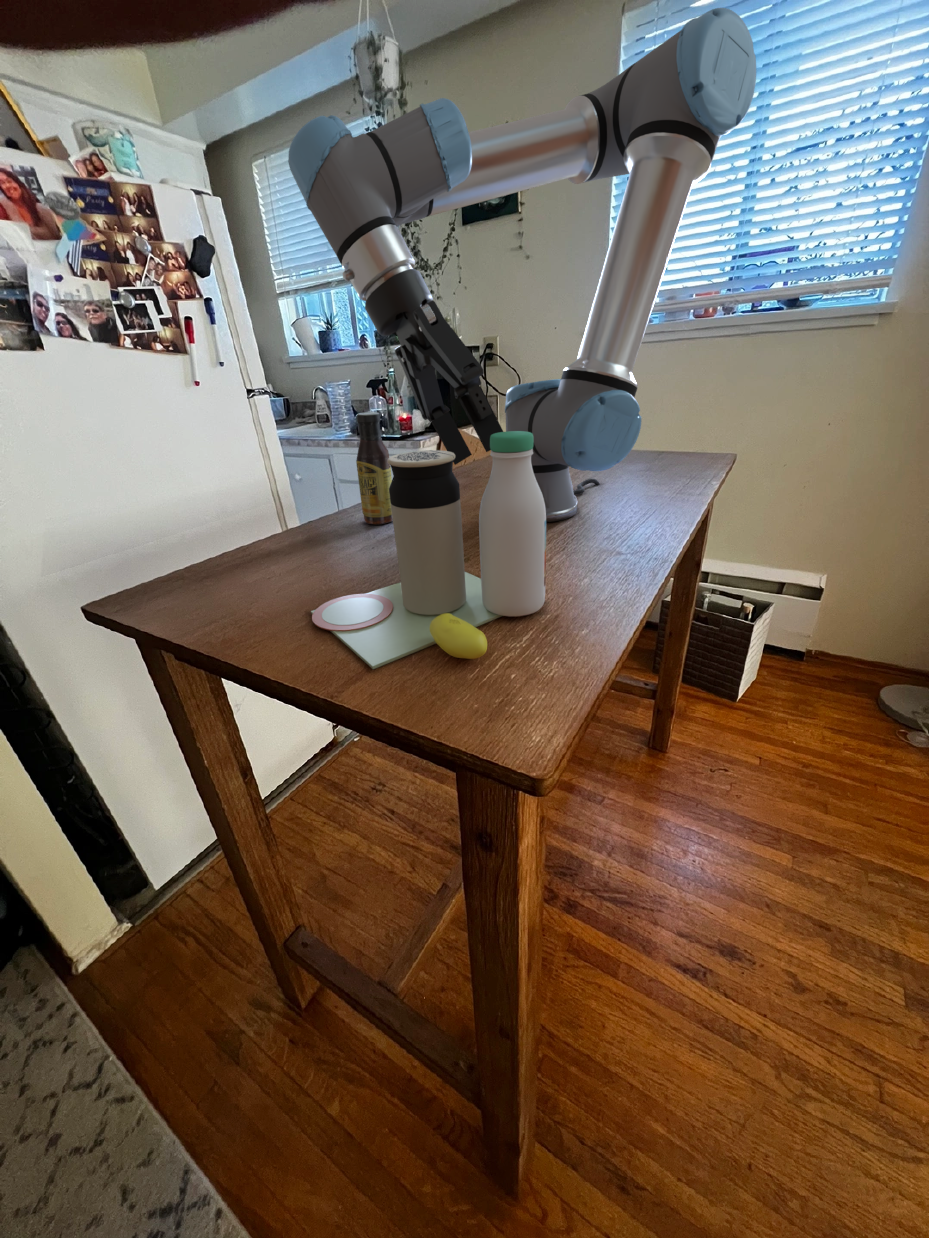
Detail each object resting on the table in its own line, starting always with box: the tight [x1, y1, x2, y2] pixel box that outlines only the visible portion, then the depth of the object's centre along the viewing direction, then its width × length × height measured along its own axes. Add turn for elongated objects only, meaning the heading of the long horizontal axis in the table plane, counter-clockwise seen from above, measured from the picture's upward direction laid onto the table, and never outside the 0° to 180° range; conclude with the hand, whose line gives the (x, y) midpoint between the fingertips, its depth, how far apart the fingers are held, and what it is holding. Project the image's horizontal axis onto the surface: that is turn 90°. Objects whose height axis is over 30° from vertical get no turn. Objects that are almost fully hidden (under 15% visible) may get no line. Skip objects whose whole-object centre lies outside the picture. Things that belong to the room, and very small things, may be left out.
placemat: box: [310, 571, 504, 670], centre depth 63 cm, size 23×18×1 cm
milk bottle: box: [478, 431, 547, 617], centre depth 57 cm, size 8×8×20 cm
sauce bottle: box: [355, 411, 393, 526], centre depth 94 cm, size 6×6×20 cm
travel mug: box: [388, 449, 466, 615], centre depth 59 cm, size 8×8×18 cm
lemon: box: [430, 613, 488, 660], centre depth 52 cm, size 4×8×4 cm, turn 37°
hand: (478, 454), depth 65 cm, fingers open, 13 cm apart
